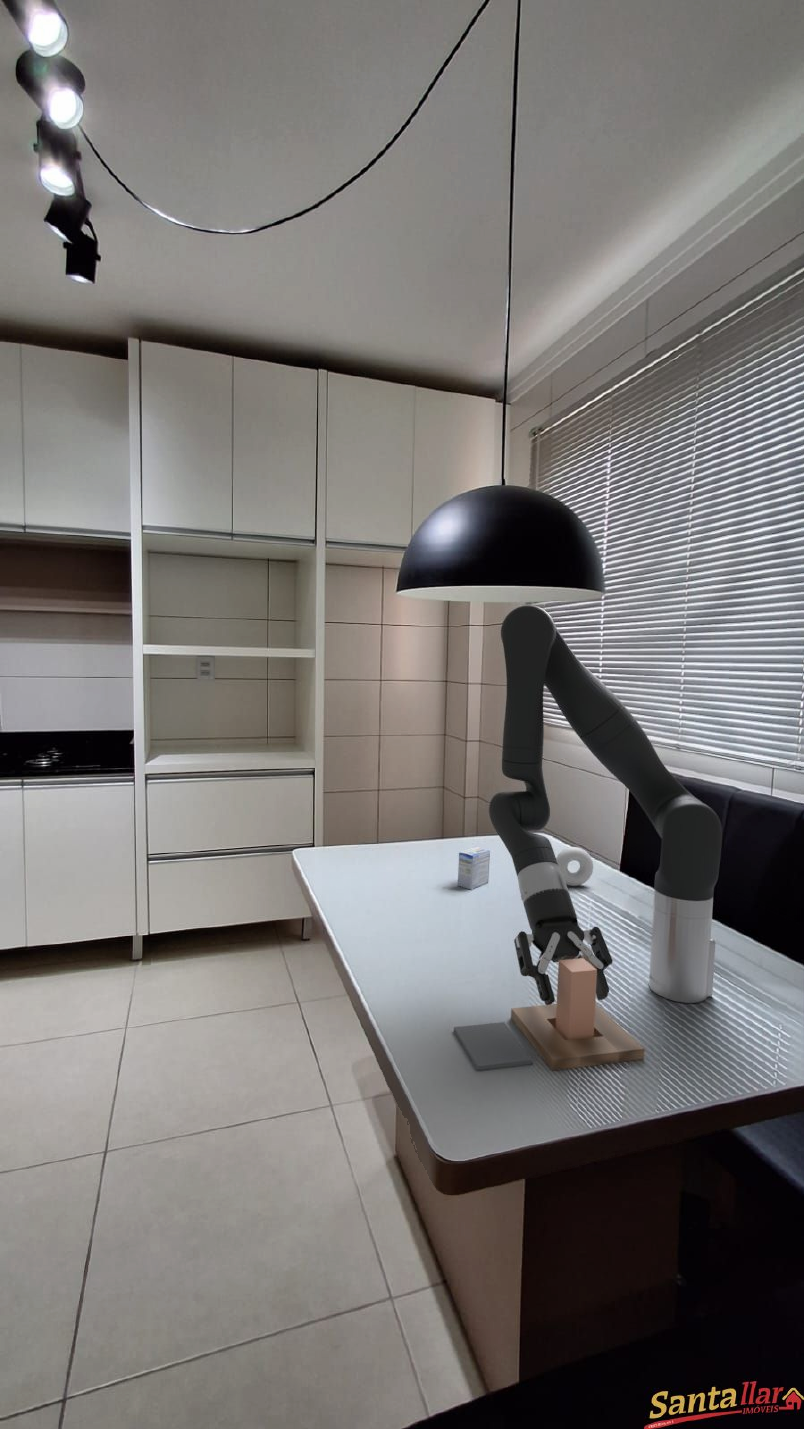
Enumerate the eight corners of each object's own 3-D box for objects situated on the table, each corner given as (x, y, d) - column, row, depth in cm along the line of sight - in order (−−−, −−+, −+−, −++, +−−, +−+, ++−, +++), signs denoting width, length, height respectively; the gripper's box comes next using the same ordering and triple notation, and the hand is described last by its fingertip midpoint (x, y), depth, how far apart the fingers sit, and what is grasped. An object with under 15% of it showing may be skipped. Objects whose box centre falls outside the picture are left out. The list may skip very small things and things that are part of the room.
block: (579, 1029, 101) (583, 958, 100) (593, 1043, 97) (597, 969, 96) (555, 1031, 100) (558, 960, 99) (568, 1046, 96) (571, 971, 95)
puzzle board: (592, 1009, 107) (592, 1000, 107) (643, 1058, 93) (644, 1048, 93) (510, 1017, 104) (511, 1008, 103) (552, 1070, 90) (553, 1059, 90)
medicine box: (474, 879, 173) (475, 846, 173) (489, 882, 170) (490, 849, 170) (457, 886, 167) (458, 852, 167) (472, 890, 164) (473, 855, 164)
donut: (590, 884, 172) (591, 845, 171) (594, 888, 168) (596, 849, 168) (551, 883, 172) (553, 844, 171) (555, 887, 168) (556, 848, 167)
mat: (503, 1025, 101) (504, 1021, 101) (532, 1063, 92) (532, 1059, 91) (453, 1031, 99) (453, 1027, 99) (477, 1070, 90) (477, 1066, 90)
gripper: (512, 888, 103) (541, 995, 93) (594, 884, 107) (632, 987, 97) (497, 910, 109) (523, 1013, 99) (576, 905, 112) (610, 1005, 102)
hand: (577, 1000), depth 98 cm, fingers open, 8 cm apart
